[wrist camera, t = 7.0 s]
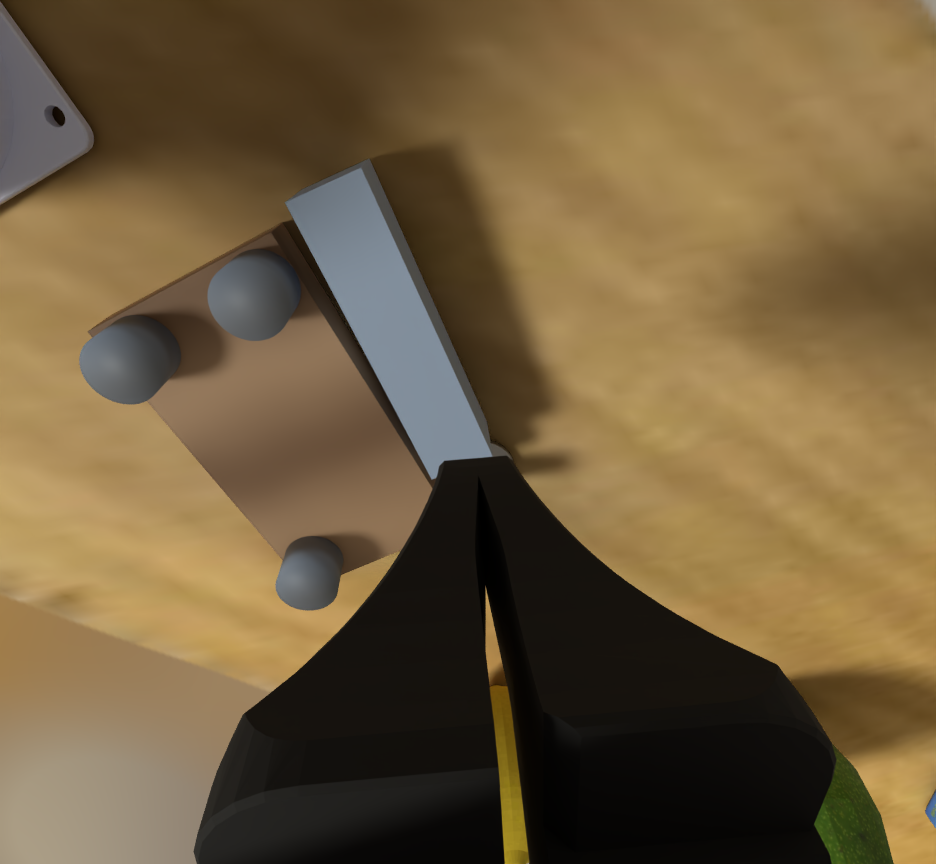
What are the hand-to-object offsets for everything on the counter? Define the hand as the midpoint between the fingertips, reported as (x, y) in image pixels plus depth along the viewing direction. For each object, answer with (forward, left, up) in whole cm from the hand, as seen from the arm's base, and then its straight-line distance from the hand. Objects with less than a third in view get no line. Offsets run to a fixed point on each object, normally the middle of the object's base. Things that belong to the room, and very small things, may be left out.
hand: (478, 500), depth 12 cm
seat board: (+1, -7, -10) cm, 12 cm away
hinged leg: (-1, -1, -10) cm, 10 cm away
